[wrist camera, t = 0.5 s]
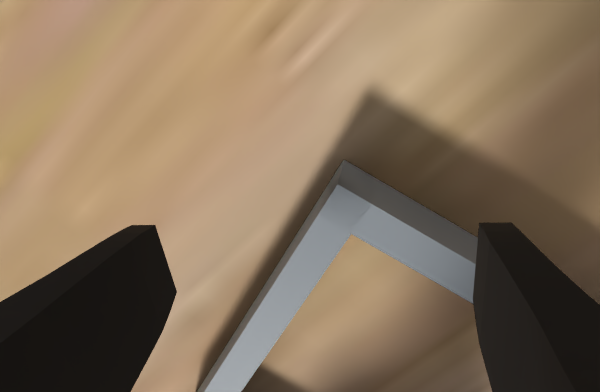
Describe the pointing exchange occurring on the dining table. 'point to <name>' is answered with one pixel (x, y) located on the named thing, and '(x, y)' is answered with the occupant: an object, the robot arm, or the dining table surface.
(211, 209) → the dining table surface
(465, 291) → the box
